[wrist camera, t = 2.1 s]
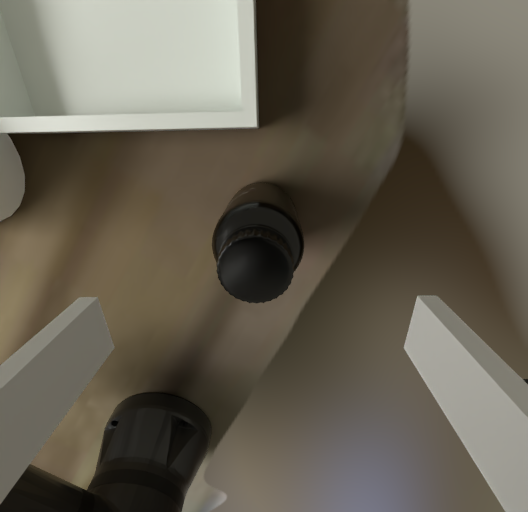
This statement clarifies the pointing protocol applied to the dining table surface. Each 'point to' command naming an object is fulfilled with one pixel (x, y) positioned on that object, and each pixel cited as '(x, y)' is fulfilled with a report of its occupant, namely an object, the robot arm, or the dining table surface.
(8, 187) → the honey pot
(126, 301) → the dining table surface
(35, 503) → the robot arm
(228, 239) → the supplement bottle
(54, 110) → the tote
